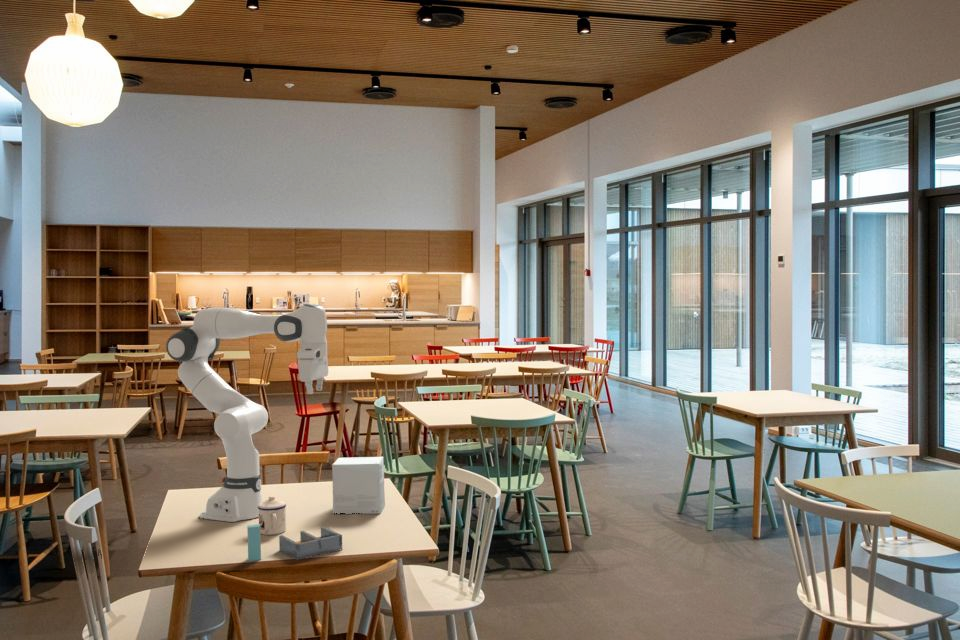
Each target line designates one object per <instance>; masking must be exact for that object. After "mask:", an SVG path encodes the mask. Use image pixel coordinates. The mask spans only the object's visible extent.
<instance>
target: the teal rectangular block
mask: <svg viewBox="0 0 960 640" xmlns="http://www.w3.org/2000/svg"><path fill="white" fill-rule="evenodd" d="M246 528H247V559H248V562H254V561H255V562H256V561H261V560H262V551H261V549H262V548H261V546H262V545H261V533H260V524H259V523H257V524H248V525H247V527H246Z"/></svg>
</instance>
